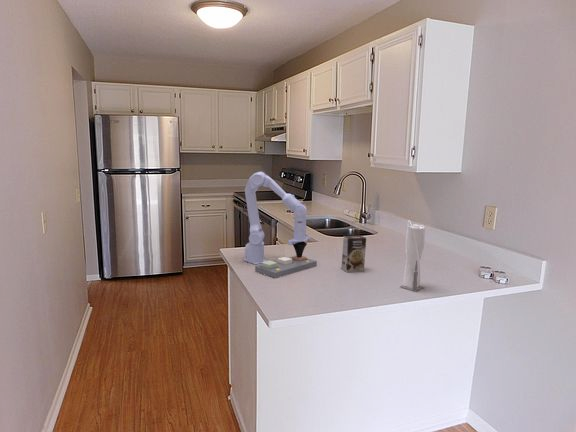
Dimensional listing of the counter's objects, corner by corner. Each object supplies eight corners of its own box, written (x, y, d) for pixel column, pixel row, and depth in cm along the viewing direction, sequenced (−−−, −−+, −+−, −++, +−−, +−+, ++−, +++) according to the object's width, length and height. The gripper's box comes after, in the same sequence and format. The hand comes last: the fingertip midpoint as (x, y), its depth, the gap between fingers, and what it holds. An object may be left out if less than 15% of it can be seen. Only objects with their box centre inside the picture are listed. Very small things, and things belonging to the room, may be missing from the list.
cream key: (277, 264, 189) (277, 258, 189) (284, 262, 193) (284, 256, 192) (284, 267, 186) (284, 260, 185) (292, 265, 189) (292, 258, 189)
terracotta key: (291, 262, 197) (291, 256, 196) (298, 260, 200) (298, 254, 200) (299, 264, 193) (299, 258, 193) (306, 262, 197) (306, 256, 196)
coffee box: (346, 272, 185) (348, 238, 182) (341, 268, 191) (342, 235, 188) (364, 271, 188) (366, 237, 185) (358, 267, 194) (360, 234, 191)
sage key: (261, 268, 182) (261, 262, 182) (269, 266, 186) (269, 260, 185) (268, 271, 179) (269, 264, 178) (277, 269, 182) (277, 262, 182)
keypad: (255, 271, 183) (255, 265, 183) (296, 260, 203) (297, 255, 203) (275, 278, 174) (275, 272, 174) (316, 266, 194) (316, 260, 194)
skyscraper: (396, 286, 168) (401, 220, 164) (406, 282, 174) (411, 218, 169) (415, 291, 162) (421, 223, 158) (424, 287, 168) (430, 221, 163)
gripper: (295, 233, 186) (295, 261, 188) (316, 229, 196) (315, 256, 199) (284, 230, 191) (284, 258, 193) (305, 226, 201) (304, 253, 203)
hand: (299, 257), depth 196 cm, fingers closed, pressing on terracotta key
